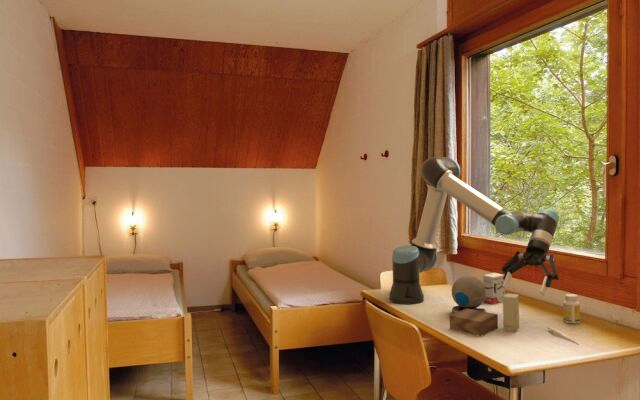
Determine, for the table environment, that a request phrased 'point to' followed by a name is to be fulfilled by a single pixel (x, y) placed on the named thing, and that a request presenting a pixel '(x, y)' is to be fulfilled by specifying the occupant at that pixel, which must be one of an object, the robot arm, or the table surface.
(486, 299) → the ink box
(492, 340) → the table surface
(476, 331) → the walnut plinth
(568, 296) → the supplement bottle
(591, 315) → the table surface
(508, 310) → the skincare box
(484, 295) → the webcam
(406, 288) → the robot arm
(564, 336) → the beige slender tapered piece
